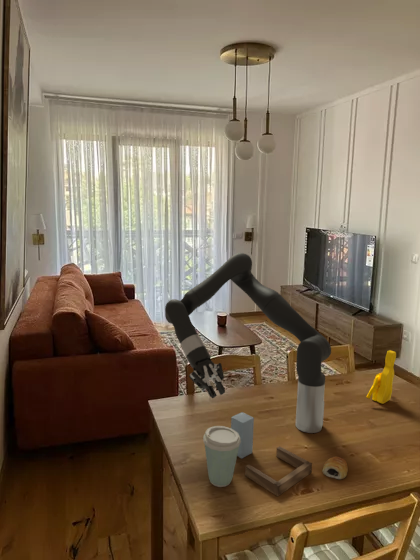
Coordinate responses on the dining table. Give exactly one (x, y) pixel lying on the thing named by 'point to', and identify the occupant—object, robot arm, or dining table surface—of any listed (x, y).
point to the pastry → (335, 468)
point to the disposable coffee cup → (221, 454)
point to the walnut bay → (287, 481)
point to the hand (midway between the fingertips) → (218, 395)
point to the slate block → (243, 432)
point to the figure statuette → (384, 380)
